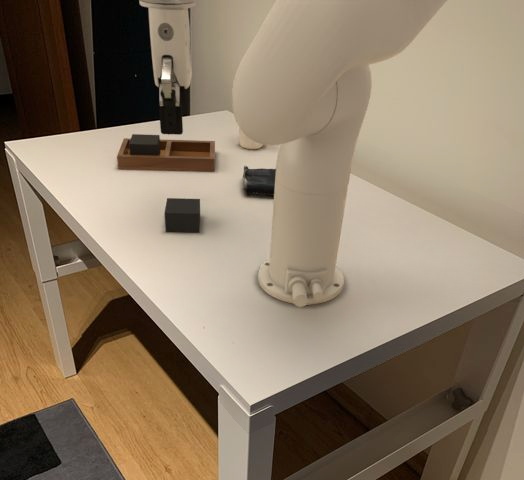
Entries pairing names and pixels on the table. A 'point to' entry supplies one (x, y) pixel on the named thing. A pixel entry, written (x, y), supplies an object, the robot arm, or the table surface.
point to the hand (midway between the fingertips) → (174, 123)
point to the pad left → (144, 144)
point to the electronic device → (259, 181)
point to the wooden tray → (171, 156)
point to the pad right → (182, 215)
